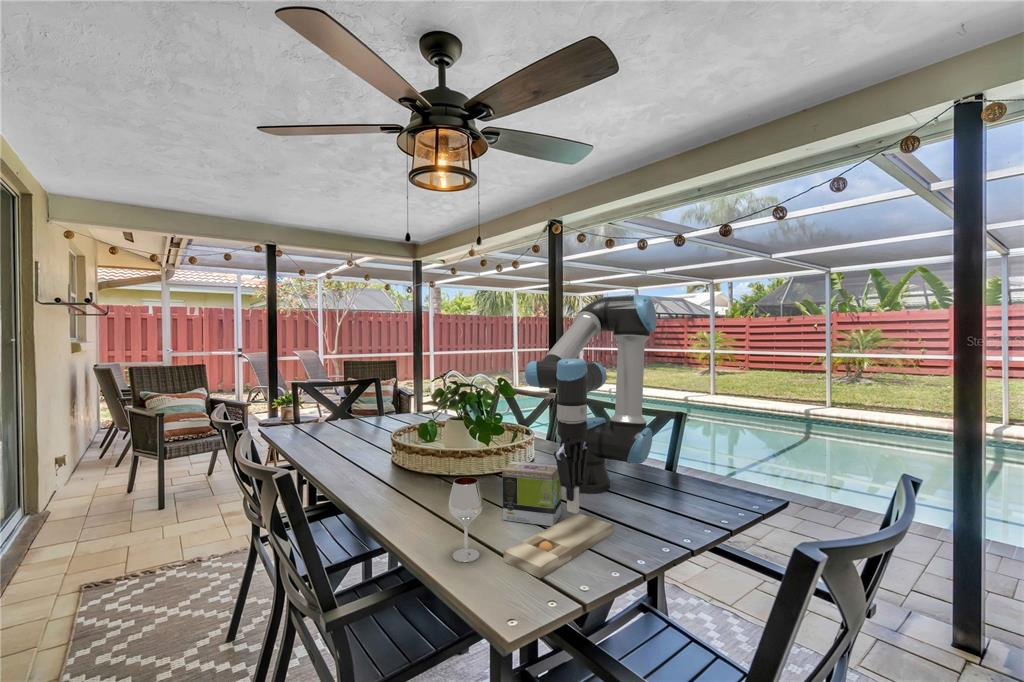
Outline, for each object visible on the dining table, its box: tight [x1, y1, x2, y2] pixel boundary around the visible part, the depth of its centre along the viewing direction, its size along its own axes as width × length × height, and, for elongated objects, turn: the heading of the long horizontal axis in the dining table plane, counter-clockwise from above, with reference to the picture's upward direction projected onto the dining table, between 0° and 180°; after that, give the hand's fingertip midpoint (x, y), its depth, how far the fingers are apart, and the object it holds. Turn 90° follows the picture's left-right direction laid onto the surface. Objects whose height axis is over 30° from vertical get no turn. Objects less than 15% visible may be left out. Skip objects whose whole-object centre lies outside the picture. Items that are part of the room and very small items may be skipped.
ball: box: [539, 541, 553, 552], centre depth 112 cm, size 4×4×4 cm
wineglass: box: [448, 476, 484, 563], centre depth 112 cm, size 8×8×18 cm
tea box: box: [501, 460, 562, 527], centre depth 135 cm, size 15×10×15 cm, turn 71°
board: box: [503, 512, 613, 579], centre depth 117 cm, size 11×30×2 cm, turn 137°
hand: (573, 511), depth 121 cm, fingers closed
